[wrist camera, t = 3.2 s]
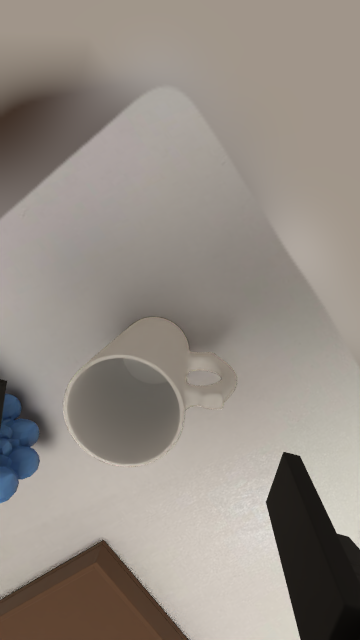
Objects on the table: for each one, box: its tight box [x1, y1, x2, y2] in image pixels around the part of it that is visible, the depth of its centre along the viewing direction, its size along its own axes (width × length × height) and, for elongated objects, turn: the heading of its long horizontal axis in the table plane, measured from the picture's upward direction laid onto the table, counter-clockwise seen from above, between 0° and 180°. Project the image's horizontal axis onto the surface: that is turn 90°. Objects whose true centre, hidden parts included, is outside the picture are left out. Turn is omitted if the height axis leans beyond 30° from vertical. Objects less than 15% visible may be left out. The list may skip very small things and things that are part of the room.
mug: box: [63, 317, 237, 467], centre depth 24 cm, size 10×7×12 cm, turn 92°
